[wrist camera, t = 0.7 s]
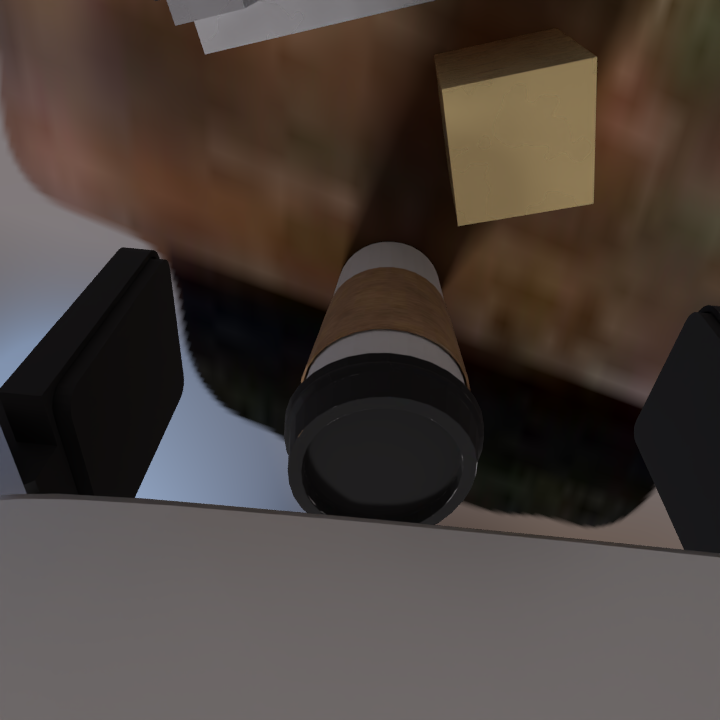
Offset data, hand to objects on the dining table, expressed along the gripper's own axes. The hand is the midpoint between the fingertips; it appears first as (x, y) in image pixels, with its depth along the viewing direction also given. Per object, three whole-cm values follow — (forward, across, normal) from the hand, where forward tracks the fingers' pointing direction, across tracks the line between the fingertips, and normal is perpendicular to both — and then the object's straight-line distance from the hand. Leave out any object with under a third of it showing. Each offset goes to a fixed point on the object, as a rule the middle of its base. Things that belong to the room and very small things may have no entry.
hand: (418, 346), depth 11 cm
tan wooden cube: (+22, -4, 0) cm, 22 cm away
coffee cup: (+22, 0, +11) cm, 24 cm away
